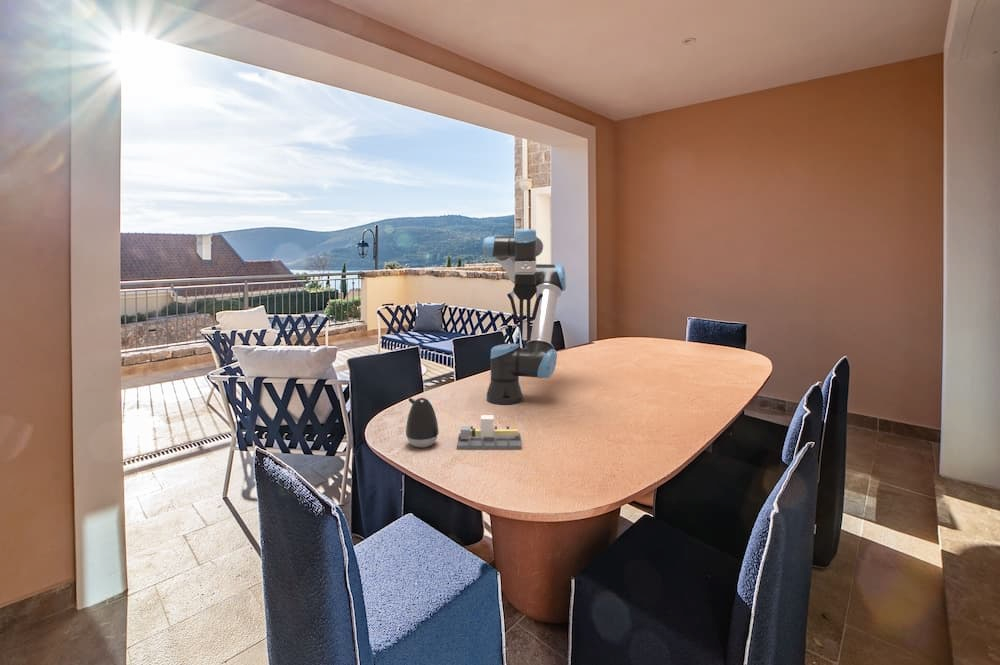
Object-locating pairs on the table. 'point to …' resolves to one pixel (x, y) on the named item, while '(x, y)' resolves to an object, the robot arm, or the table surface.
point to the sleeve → (487, 425)
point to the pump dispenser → (421, 424)
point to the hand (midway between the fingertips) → (524, 339)
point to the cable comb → (488, 439)
